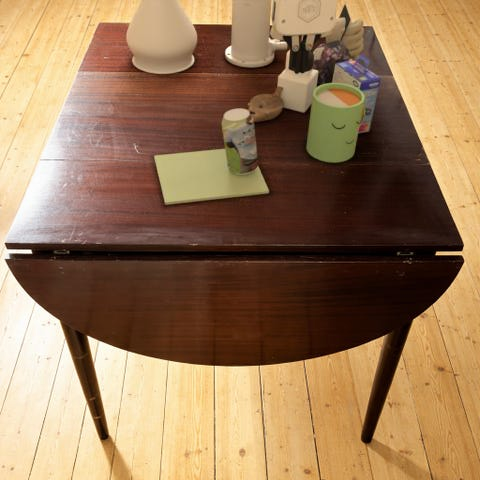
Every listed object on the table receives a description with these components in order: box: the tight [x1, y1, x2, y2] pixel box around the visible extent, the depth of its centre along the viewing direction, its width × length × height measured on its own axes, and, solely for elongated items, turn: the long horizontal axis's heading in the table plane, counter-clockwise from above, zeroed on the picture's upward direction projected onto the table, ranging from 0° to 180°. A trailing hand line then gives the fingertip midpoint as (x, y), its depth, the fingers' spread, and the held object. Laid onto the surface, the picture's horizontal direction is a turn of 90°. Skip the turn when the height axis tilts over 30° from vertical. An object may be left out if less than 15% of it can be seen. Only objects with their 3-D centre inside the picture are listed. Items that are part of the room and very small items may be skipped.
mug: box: [305, 83, 365, 163], centre depth 124 cm, size 13×10×12 cm
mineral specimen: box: [312, 40, 352, 86], centre depth 146 cm, size 10×10×10 cm
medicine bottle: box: [276, 49, 318, 114], centre depth 137 cm, size 7×7×12 cm
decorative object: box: [325, 4, 365, 61], centre depth 153 cm, size 13×10×10 cm
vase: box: [125, 0, 198, 75], centre depth 145 cm, size 17×17×25 cm
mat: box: [153, 148, 270, 206], centre depth 120 cm, size 20×16×1 cm
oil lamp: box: [247, 85, 284, 123], centre depth 136 cm, size 13×8×5 cm, turn 137°
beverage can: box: [221, 107, 259, 175], centre depth 117 cm, size 6×7×12 cm
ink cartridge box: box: [332, 54, 382, 135], centre depth 130 cm, size 10×6×14 cm, turn 27°
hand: (297, 70), depth 108 cm, fingers closed
